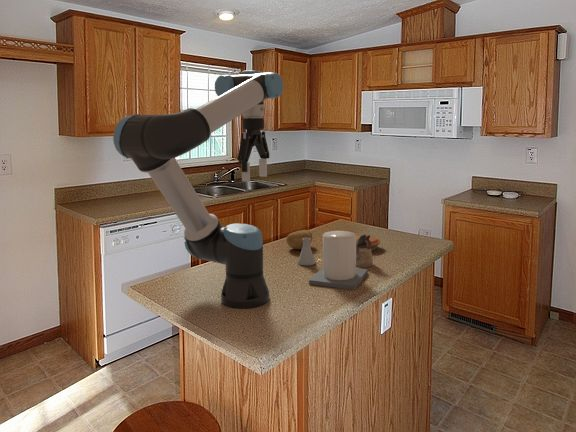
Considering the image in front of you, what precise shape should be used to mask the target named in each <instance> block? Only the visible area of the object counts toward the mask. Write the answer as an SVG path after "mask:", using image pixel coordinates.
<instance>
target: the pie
mask: <svg viewBox="0 0 576 432" xmlns="http://www.w3.org/2000/svg"><path fill="white" fill-rule="evenodd" d="M361 235H362V234H356V242H357V240H358V238H359V237H360V236H361ZM365 235H366V234H365ZM366 236H368V235H366ZM369 240H370V241H371V247H370V248H371V252H374V251H375V250H377V248H378V246H379V245H380V244H381V240H380V239H379V238H377V237H375V236H373V235H372V236H371V235H370V238H369ZM366 244H367V245H369V244H368V243H366ZM356 245H357V243H356Z"/></svg>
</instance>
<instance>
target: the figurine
mask: <svg viewBox="0 0 576 432" xmlns="http://www.w3.org/2000/svg"><path fill="white" fill-rule="evenodd" d="M360 235H361V236H360V237H359V238H358V240H357V242H356V243H357V245H356V268H357V267H359V268H369V267H372V266H373V265H374V264H373V263H374V262H373V261H374V260H373V258H374V257H373V254H372V253H373V251H371V248H370V247H371V241H370V240H369V238H370V236H371V235H370V234H368V235H367V236H366V234H365V233H363V234H360ZM366 243H368V244H369V245H367V244H366Z"/></svg>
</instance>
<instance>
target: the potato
mask: <svg viewBox="0 0 576 432" xmlns="http://www.w3.org/2000/svg"><path fill="white" fill-rule="evenodd" d="M303 238H310V239H311V240H310V244H311V243H312V240H313V232H312V231H310V230H309V229H302V230H297V231H293V232H290V233H289V234H288V235H287V236H286V245H288V246H289V247H290V248H292V249H293V250H302V248H303Z"/></svg>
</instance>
